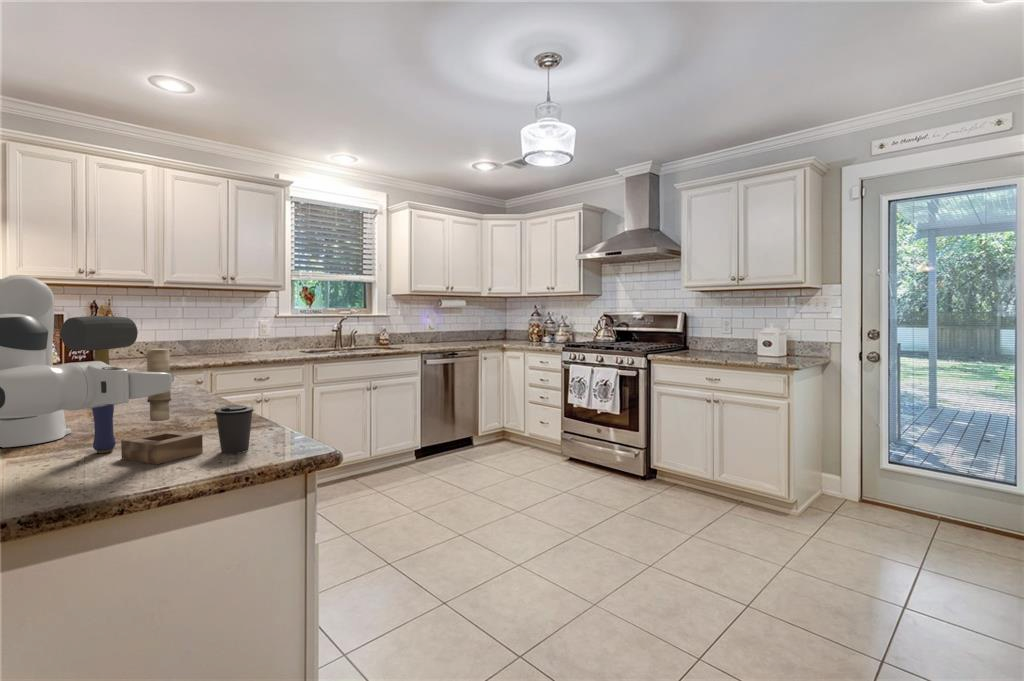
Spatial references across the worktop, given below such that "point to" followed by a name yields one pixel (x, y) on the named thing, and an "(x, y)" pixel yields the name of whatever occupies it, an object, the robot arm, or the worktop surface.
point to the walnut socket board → (161, 446)
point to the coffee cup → (234, 428)
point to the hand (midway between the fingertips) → (163, 376)
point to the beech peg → (160, 402)
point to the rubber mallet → (101, 338)
